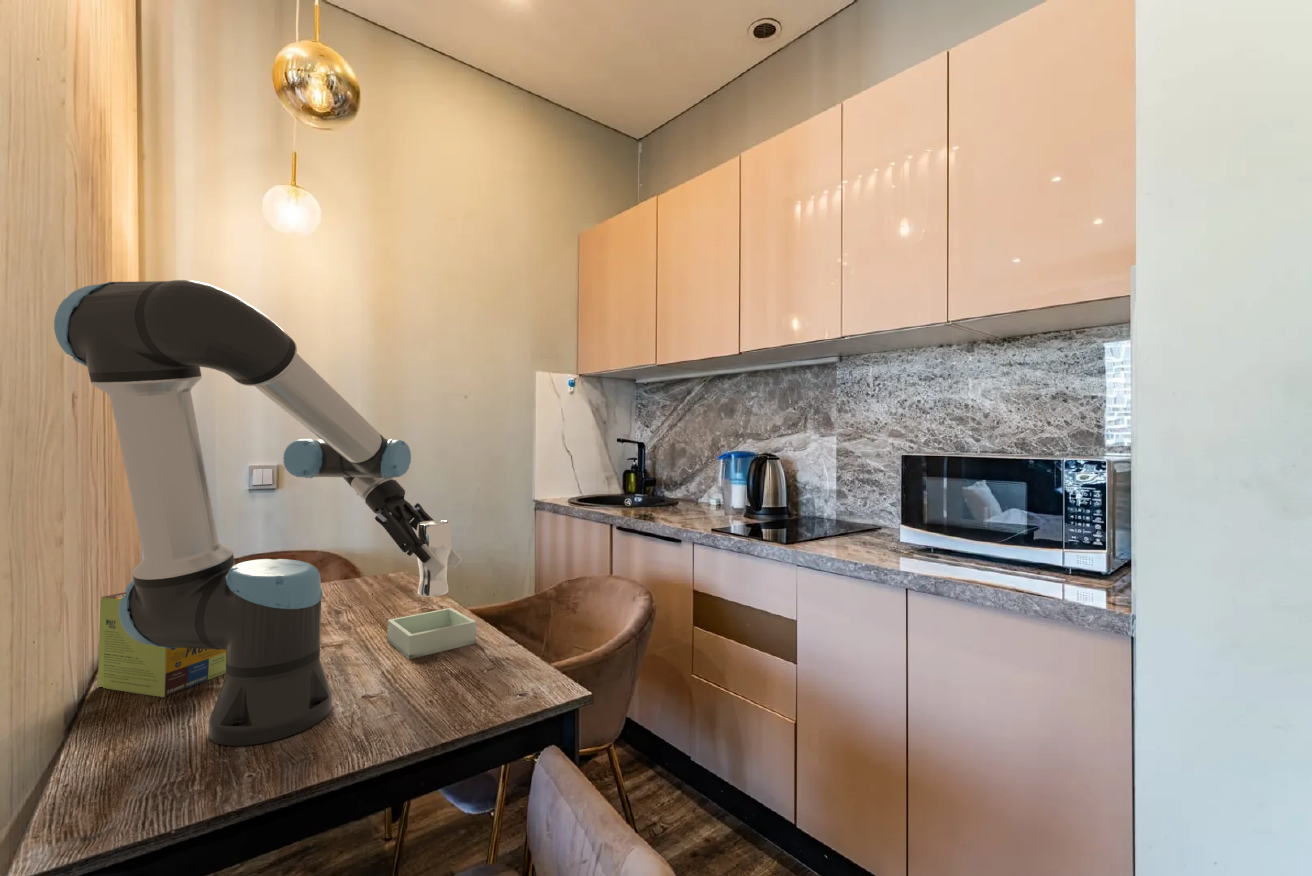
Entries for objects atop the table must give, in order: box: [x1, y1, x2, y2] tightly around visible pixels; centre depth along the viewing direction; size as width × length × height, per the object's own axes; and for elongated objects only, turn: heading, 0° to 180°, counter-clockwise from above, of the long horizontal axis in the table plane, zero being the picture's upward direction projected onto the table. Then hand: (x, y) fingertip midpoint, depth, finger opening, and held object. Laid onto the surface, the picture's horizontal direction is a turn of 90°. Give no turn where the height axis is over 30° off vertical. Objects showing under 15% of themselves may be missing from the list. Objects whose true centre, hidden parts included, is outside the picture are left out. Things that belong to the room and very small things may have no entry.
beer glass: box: [416, 520, 452, 598], centre depth 116 cm, size 7×7×15 cm
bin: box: [386, 607, 477, 660], centre depth 116 cm, size 14×14×4 cm
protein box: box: [97, 591, 226, 698], centre depth 96 cm, size 10×15×16 cm
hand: (449, 567), depth 116 cm, fingers closed on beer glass, 7 cm apart
